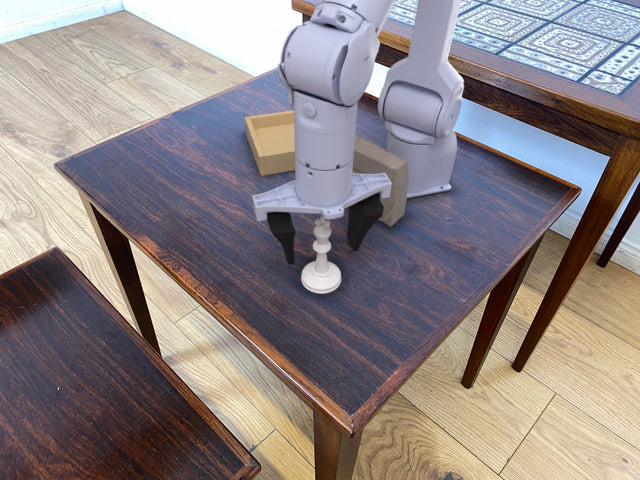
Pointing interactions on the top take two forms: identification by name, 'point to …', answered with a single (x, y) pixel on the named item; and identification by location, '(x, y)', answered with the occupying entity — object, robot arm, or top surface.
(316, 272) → the chess piece
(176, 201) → the top surface
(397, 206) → the fossil
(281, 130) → the wooden tray
